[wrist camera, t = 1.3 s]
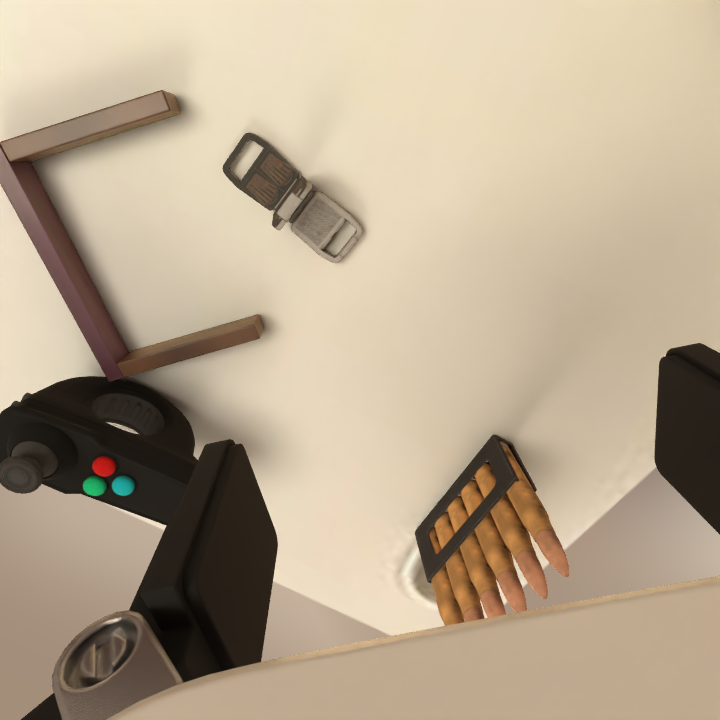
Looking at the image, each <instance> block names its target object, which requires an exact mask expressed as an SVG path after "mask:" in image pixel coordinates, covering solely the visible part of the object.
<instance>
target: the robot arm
mask: <svg viewBox="0 0 720 720" xmlns="http://www.w3.org/2000/svg"><path fill="white" fill-rule="evenodd" d="M655 464H656V466H657V469H658V471H659V472H660V473H661V475H662V476H663V477H664V478H665V479H666V480H667V481H668V482H669V483H670V484H671V485H672V486H673V487H674V488H675V489H676V490H677V491H678V492H679V493H680V494H681V495H682V496H683V497H684V498H685V499H686V500H687V501H688V502H689V503H690V504H691V506H692V507H693V508H694V509H695V510H696V511H697V512H698V513H699V514H700V515H701V516H702V517H703V518H704V519H705V520H706V521H707V522H708V523H709V524H710V525H711V526H712V527H713V528H714V529H715V530H716V531H717V532H718V533H719V534H720V353H718V352H717V351H715V350H713V349H711V348H709V347H707V346H706V345H704V344H701V343H697V344H692V345H687V346H682V347H677V348H672V349H670V350H669V351H668V352H667V354H666V357H663V358H661V360H660V363H659V378H658V398H657V417H656V437H655ZM277 548H278V542H277V535H276V531H275V529H274V526H273V523H272V521H271V518H270V515H269V513H268V510H267V507H266V504H265V502H264V499H263V496H262V494H261V491H260V488H259V486H258V483H257V480H256V478H255V475H254V472H253V470H252V467H251V464H250V461H249V459H248V456H247V453H246V451H245V448H244V446H243V445H242V444H235V442H234V441H233V440H231V439H229V440H224V441H219V442H214V443H209V444H206V445H205V447H204V448H203V451H202V453H201V455H200V458H199V460H198V462H197V464H196V467H195V469H194V471H193V474H192V476H191V478H190V480H189V483H188V485H187V487H186V490H185V492H184V494H183V496H182V499H181V501H180V503H179V506H178V508H177V510H175V511H174V512H173V514H172V515H171V517H170V519H169V522H168V524H167V526H166V528H165V531H164V533H163V535H162V538H161V540H160V542H159V544H158V546H157V549H156V551H155V553H154V556H153V558H152V560H151V562H150V564H149V567H148V569H147V571H146V573H145V576H144V578H143V580H142V583H141V585H140V587H139V589H138V591H137V594H136V596H135V598H134V600H133V603H132V605H131V607H130V609H129V611H121V612H116V613H113V614H110V615H107V616H105V617H103V618H101V619H99V620H97V621H96V622H94V623H92V624H91V625H89V626H88V627H87V628H85V629H84V630H83V631H82V632H81V633H79V634H78V635H77V636H76V637H75V638H74V639H73V640H72V641H71V643H70V644H69V645H68V646H67V647H66V648H65V649H64V651H63V653H62V654H61V656H60V658H59V659H58V661H57V663H56V666H55V669H54V672H53V675H52V687H53V691H54V693H53V694H52V695H51V696H49V697H48V698H47V699H46V700H44V701H43V702H42V703H41V704H39V705H38V706H37V707H36V708H35V709H33V710H32V711H31V712H30V713H28V714H27V715H26V716H25V717H24V718H22V719H21V720H720V576H717V577H711V578H705V579H699V580H694V581H688V582H682V583H677V584H671V585H666V586H660V587H654V588H649V589H643V590H638V591H632V592H627V593H621V594H616V595H610V596H605V597H600V598H594V599H589V600H583V601H577V602H572V603H566V604H561V605H555V606H550V607H544V608H539V609H534V610H528V611H523V612H517V613H513V614H506V615H501V616H496V617H490V618H485V619H479V620H474V621H469V622H463V623H458V624H453V625H447V626H442V627H437V628H432V629H426V630H421V631H416V632H410V633H405V634H400V635H395V636H389V637H384V638H379V639H373V640H368V641H363V642H358V643H353V644H347V645H342V646H337V647H332V648H327V649H322V650H318V651H312V652H307V653H302V654H298V655H293V656H288V657H283V658H278V659H274V660H269V661H264V662H261V658H262V650H263V644H264V636H265V630H266V623H267V617H268V610H269V603H270V596H271V589H272V583H273V576H274V569H275V562H276V555H277Z"/></svg>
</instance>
